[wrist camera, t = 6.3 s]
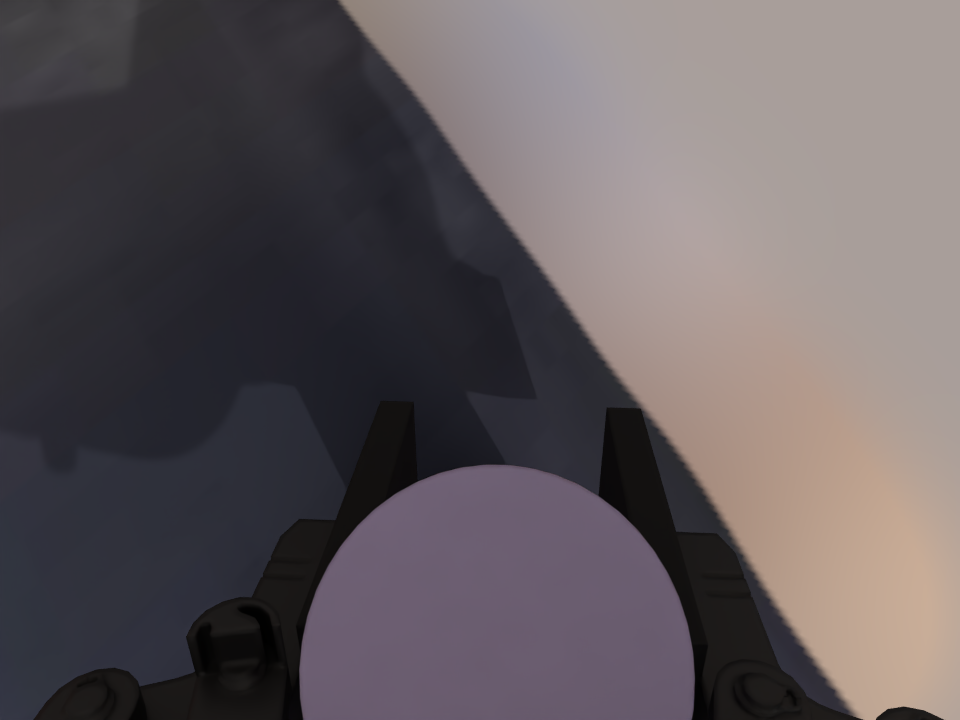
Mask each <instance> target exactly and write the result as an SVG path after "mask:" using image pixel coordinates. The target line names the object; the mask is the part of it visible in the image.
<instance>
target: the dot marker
mask: <svg viewBox="0 0 960 720" xmlns="http://www.w3.org/2000/svg"><path fill="white" fill-rule="evenodd" d="M299 677H300V701H301V708H302V715H303V720H692V715H693V710H694V692H695V672H694V658H693V649H692V644H691V639H690V633H689V628H688V623H687V620H686V617H685V614H684V611H683V608H682V605H681V602H680V599H679V596H678V594H677V592H676V590H675V587H674V585H673V583H672V581H671V579H670V577H669V574H668V572H667V571H666V569H665V568H664V566H663V564H662V563H661V561H660V559H659V558H658V556H657V555H656V553H655V551H654V550H653V549H652V547H651V546H650V545H649V544H648V542H647V541H646V540H645V539H644V537H643V536H642V535H641V534H640V532H639V531H638V530H637V529H636V528H635V527H634V526H633V525H632V524H631V523H630V522H629V521H628V520H627V519H626V518H625V517H624V516H623V515H622V514H621V513H620V512H619V511H617V510H616V509H615V508H614V507H612V506H611V505H610V504H608V503H607V502H606V501H604V500H603V499H602V498H600V497H599V496H597V495H596V494H594V493H592V492H591V491H589V490H587V489H585V488H584V487H582V486H580V485H578V484H576V483H574V482H572V481H569V480H567V479H565V478H562V477H560V476H557V475H555V474H551V473H548V472H544V471H540V470H537V469H533V468H527V467H520V466H513V465H478V466H469V467H461V468H457V469H454V470H450V471H446V472H442V473H438V474H436V475H433V476H431V477H428V478H426V479H423V480H420V481H418V482H416V483H414V484H412V485H410V486H409V487H407V488H405V489H403V490H401V491H400V492H398V493H396V494H394V495H393V496H392V497H390V498H389V499H388V500H386V501H385V502H384V503H382V504H381V505H379V506H378V507H377V508H375V509H374V510H373V511H372V512H371V513H370V514H369V515H368V516H367V517H366V518H365V519H364V520H363V521H362V522H361V523H360V524H358V525H357V527H356V528H355V529H354V530H353V532H352V533H351V534H350V535H349V536H348V538H347V539H346V540H345V541H344V542H343V544H342V545H341V546H340V548H339V550H338V551H337V553H336V554H335V556H334V557H333V559H332V561H331V562H330V564H329V565H328V567H327V569H326V571H325V573H324V575H323V577H322V579H321V581H320V583H319V586H318V588H317V590H316V592H315V595H314V598H313V601H312V604H311V607H310V610H309V613H308V616H307V621H306V625H305V630H304V635H303V639H302V646H301V657H300V668H299Z"/></svg>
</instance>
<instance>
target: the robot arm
mask: <svg viewBox="0 0 960 720" xmlns="http://www.w3.org/2000/svg"><path fill="white" fill-rule="evenodd" d="M416 482H417V462H416V442H415V423H414V403H413V402H398V401H381V402H380V404H379V407H378V409H377V412H376V415H375V417H374V420H373V423H372V425H371V428H370V431H369V433H368V436H367V439H366V441H365V444H364V446H363V449H362V452H361V454H360V457H359V460H358V462H357V465H356V468H355V470H354V473H353V476H352V478H351V481H350V483H349V486H348V489H347V491H346V494H345V497H344V499H343V502H342V505H341V507H340V510H339V513H338V515H337V518H336V520H312V519H299V520H298V521H297V522H296V523H294V524H293V525H292V526H291V527H290V528H289V529H288V530H287V531H286V532H285V533H284V534H283V535H281V536H280V539H279V541H278V543H277V545H276V547H275V549H274V551H273V553H272V556H271V561H269V562H268V564H267V566H266V568H265V570H264V572H263V577H261V579H260V581H259V583H258V585H257V587H256V589H255V592H254V594H253V596H252V597H239V598H235V599H231V600H227V601H223V602H221V603H219V604H217V605H215V606H214V607H212V608H210V609H208V610H206V611H205V612H204V613H203V614H202V615H201V616H200V617H199V618H198V619H197V620H196V621H195V622H194V623H193V624H192V626H191V628H190V630H189V632H188V634H187V636H186V638H187V642H188V646H189V650H190V654H191V657H192V661H193V665H194V669H195V672H193V673H191V674H188V675H185V676H182V677H179V678H175V679H171V680H167V681H162V682H158V683H153V684H149V685H145V686H140V687H139V684H138V681H137V680H136V679H135V678H134V677H133V676H132V675H131V674H130V673H129V672H128V671H124V670H120V669H117V668H108V669H98V670H94V671H92V672H89V673H86V674H83V675H81V676H78V677H76V678H75V679H73V680H72V681H70V682H69V683H67V684H66V685H64V686H63V687H61V688H59V689H58V691H57V692H56V693H55V694H54V695H53V696H52V697H51V698H50V699H49V700H48V701H47V702H46V703H45V705H44V706H43V707H42V709H41V710H40V711H39V713H38V714H37V716H36V717H35V718H34V720H303V715H302V708H301V701H300V677H299V668H300V657H301V646H302V639H303V635H304V630H305V625H306V621H307V616H308V613H309V610H310V607H311V604H312V601H313V598H314V595H315V592H316V590H317V588H318V586H319V583H320V581H321V579H322V577H323V575H324V573H325V571H326V569H327V567H328V565H329V564H330V562H331V561H332V559H333V557H334V556H335V554H336V553H337V551H338V550H339V548H340V546H341V545H342V544H343V542H344V541H345V540H346V539H347V538H348V536H349V535H350V534H351V533H352V532H353V530H354V529H355V528H356V527H357V525H358V524H360V523H361V522H362V521H363V520H364V519H365V518H366V517H367V516H368V515H369V514H370V513H371V512H372V511H373V510H374V509H375V508H377V507H378V506H379V505H381V504H382V503H384V502H385V501H386V500H388V499H389V498H390V497H392V496H393V495H394V494H396V493H398V492H400V491H401V490H403V489H405V488H407V487H409V486H410V485H412V484H414V483H416ZM599 497H600V498H602V499H603V500H604V501H606V502H607V503H608V504H610V505H611V506H612V507H614V508H615V509H616V510H617V511H619V512H620V513H621V514H622V515H623V516H624V517H625V518H626V519H627V520H628V521H629V522H630V523H631V524H632V525H633V526H634V527H635V528H636V529H637V530H638V531H639V532H640V534H641V535H642V536H643V537H644V539H645V540H646V541H647V542H648V544H649V545H650V546H651V547H652V549H653V550H654V551H655V553H656V555H657V556H658V558H659V559H660V561H661V563H662V564H663V566H664V568H665V569H666V571H667V572H668V574H669V577H670V579H671V581H672V583H673V585H674V587H675V590H676V592H677V594H678V596H679V599H680V602H681V605H682V608H683V611H684V614H685V617H686V620H687V623H688V628H689V633H690V639H691V644H692V649H693V658H694V672H695V692H694V710H693V715H692V720H862V719H859V718H856V717H853V716H850V715H847V714H844V713H841V712H838V711H835V710H832V709H830V708H828V707H825V706H823V705H820V704H818V703H817V702H815V701H813V700H812V699H810V698H808V697H807V696H806V694H805V692H804V691H803V689H802V688H801V687H800V686H799V685H798V683H797V682H796V681H795V680H794V679H793V678H792V677H791V676H789V675H788V674H786V673H785V672H784V671H782V670H781V668H780V666H779V664H778V662H777V660H776V657H775V655H774V652H773V649H772V647H771V644H770V642H769V639H768V636H767V634H766V631H765V629H764V626H763V623H762V621H761V618H760V616H759V613H758V610H757V608H756V605H755V603H754V600H753V597H751V592H750V590H749V587H748V584H747V582H746V579H744V574H743V571H742V569H741V566H740V564H739V561H738V558H737V556H736V553H735V552H734V551H733V550H732V549H731V548H730V547H729V546H728V545H727V544H726V543H725V542H724V540H723V539H722V538H721V537H720V536H719V535H718V534H715V533H690V532H676V530H675V527H674V523H673V520H672V516H671V513H670V509H669V506H668V502H667V499H666V495H665V492H664V488H663V485H662V481H661V478H660V474H659V471H658V467H657V464H656V460H655V457H654V453H653V450H652V446H651V443H650V439H649V436H648V432H647V429H646V425H645V422H644V418H643V415H642V411H641V409H637V408H607V411H606V421H605V432H604V443H603V454H602V465H601V476H600V487H599ZM876 720H943V719H941V718H939V717H937V716H935V715H933V714H931V713H928V712H926V711H924V710H919V709H914V708H908V707H898V708H893V709H887V710H886V711H885V712H883V713H882V714H881V715H880V716H878V717H877V718H876Z"/></svg>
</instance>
